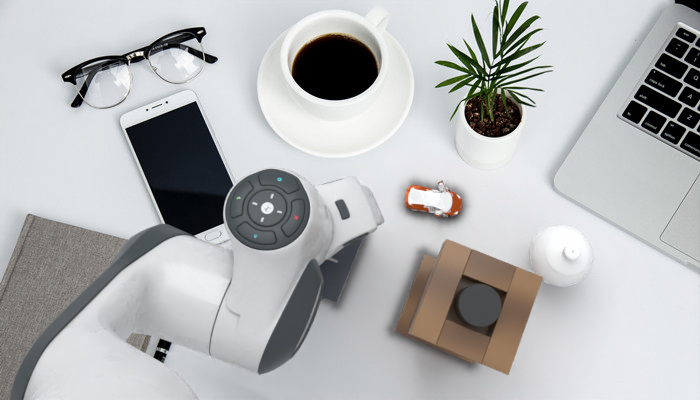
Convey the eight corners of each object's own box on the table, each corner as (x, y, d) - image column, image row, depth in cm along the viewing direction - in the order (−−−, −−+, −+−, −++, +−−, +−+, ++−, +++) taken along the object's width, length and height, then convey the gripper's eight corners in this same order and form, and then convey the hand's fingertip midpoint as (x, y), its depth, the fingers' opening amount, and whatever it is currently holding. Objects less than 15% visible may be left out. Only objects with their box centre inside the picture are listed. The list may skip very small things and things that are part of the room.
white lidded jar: (520, 291, 83) (545, 287, 71) (512, 235, 84) (535, 222, 73) (577, 286, 83) (611, 281, 71) (568, 230, 84) (600, 216, 72)
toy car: (458, 225, 85) (461, 222, 82) (401, 213, 86) (402, 210, 82) (464, 189, 86) (468, 184, 83) (408, 178, 86) (409, 173, 83)
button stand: (471, 363, 81) (511, 382, 58) (394, 330, 83) (403, 337, 59) (499, 285, 83) (549, 274, 60) (423, 255, 84) (443, 232, 61)
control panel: (337, 303, 84) (336, 302, 80) (257, 269, 85) (253, 268, 82) (365, 235, 85) (365, 232, 82) (286, 203, 86) (283, 199, 83)
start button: (487, 332, 60) (493, 333, 57) (448, 316, 60) (452, 317, 57) (501, 294, 61) (507, 293, 58) (462, 279, 61) (467, 277, 58)
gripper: (212, 298, 64) (240, 300, 78) (391, 222, 65) (388, 237, 78) (191, 243, 65) (223, 254, 79) (368, 169, 66) (369, 193, 80)
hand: (306, 245), depth 79 cm, fingers open, 8 cm apart
